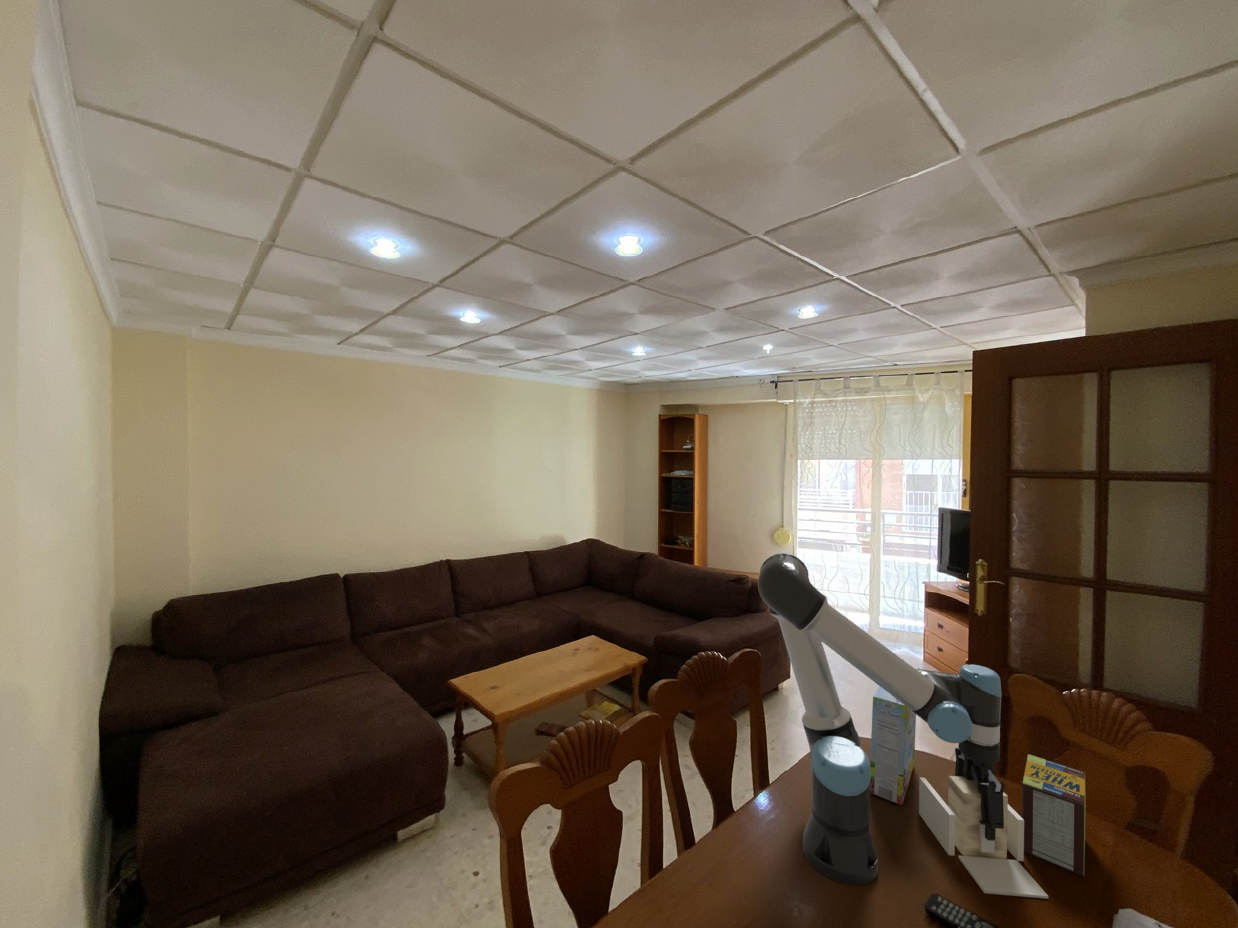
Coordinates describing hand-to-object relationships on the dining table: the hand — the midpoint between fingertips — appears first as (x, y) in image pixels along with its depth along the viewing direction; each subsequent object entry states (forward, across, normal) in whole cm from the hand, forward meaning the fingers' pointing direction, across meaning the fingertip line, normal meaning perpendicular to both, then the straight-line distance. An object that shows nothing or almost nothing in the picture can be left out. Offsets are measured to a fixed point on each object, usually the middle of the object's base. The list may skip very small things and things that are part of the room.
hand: (976, 839), depth 112 cm
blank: (+2, 0, 0) cm, 2 cm away
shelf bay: (+2, +3, 0) cm, 4 cm away
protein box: (+2, +3, -18) cm, 18 cm away
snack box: (+2, +23, +8) cm, 24 cm away
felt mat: (+2, -8, 0) cm, 8 cm away
